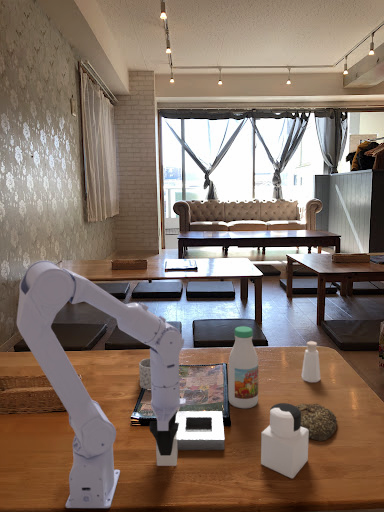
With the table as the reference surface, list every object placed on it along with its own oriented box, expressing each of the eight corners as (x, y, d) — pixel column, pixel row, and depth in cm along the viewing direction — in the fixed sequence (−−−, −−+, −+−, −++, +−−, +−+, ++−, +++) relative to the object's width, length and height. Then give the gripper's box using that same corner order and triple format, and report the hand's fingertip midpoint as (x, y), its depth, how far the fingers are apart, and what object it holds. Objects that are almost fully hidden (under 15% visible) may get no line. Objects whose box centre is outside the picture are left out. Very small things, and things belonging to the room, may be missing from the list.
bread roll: (321, 448, 88) (322, 427, 88) (273, 425, 97) (273, 406, 96) (347, 423, 97) (348, 403, 97) (300, 404, 106) (300, 386, 105)
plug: (176, 465, 83) (175, 437, 82) (156, 465, 83) (155, 437, 82) (177, 453, 87) (176, 426, 86) (158, 453, 87) (158, 426, 86)
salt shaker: (324, 380, 118) (326, 344, 116) (308, 384, 116) (310, 347, 114) (312, 372, 123) (313, 338, 121) (297, 376, 121) (298, 340, 119)
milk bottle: (223, 405, 106) (223, 331, 102) (234, 391, 112) (235, 322, 109) (252, 412, 102) (252, 336, 99) (262, 398, 109) (263, 326, 105)
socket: (224, 449, 88) (224, 439, 87) (173, 449, 88) (172, 439, 88) (221, 420, 98) (221, 411, 98) (176, 421, 99) (176, 411, 98)
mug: (166, 387, 116) (166, 365, 115) (144, 392, 113) (143, 369, 112) (154, 373, 125) (153, 352, 123) (133, 377, 122) (132, 356, 121)
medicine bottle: (276, 447, 88) (277, 395, 86) (308, 460, 84) (310, 406, 82) (260, 464, 83) (260, 410, 81) (292, 480, 78) (294, 422, 76)
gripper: (183, 399, 75) (185, 466, 77) (186, 365, 89) (187, 422, 91) (145, 399, 75) (148, 466, 77) (154, 365, 89) (156, 422, 92)
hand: (167, 442), depth 84 cm, fingers open, 7 cm apart
